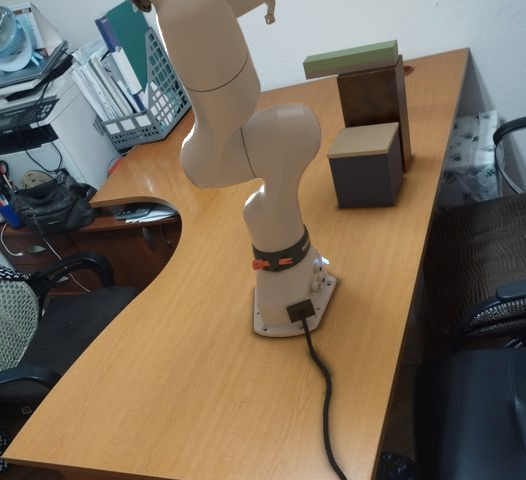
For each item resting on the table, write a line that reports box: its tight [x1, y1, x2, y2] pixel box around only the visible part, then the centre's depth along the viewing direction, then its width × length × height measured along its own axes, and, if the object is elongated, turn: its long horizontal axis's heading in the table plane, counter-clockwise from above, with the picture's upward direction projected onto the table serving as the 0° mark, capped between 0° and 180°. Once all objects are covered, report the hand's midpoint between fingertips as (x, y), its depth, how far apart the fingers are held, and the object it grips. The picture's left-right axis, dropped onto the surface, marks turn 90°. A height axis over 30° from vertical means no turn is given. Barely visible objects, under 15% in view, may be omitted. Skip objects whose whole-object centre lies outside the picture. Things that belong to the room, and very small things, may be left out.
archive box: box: [326, 122, 404, 209], centre depth 126 cm, size 14×12×15 cm
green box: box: [302, 39, 400, 81], centre depth 121 cm, size 22×4×4 cm, turn 66°
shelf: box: [336, 53, 413, 174], centre depth 130 cm, size 14×8×26 cm, turn 66°
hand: (255, 32), depth 115 cm, fingers open, 8 cm apart
